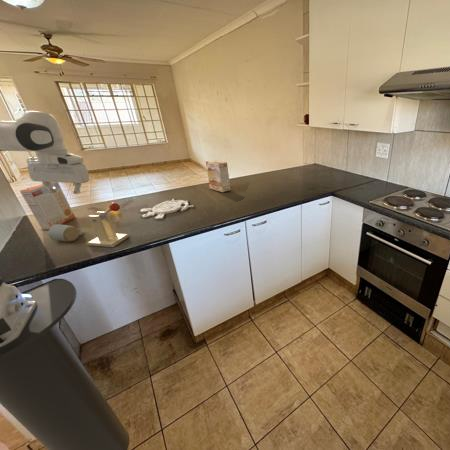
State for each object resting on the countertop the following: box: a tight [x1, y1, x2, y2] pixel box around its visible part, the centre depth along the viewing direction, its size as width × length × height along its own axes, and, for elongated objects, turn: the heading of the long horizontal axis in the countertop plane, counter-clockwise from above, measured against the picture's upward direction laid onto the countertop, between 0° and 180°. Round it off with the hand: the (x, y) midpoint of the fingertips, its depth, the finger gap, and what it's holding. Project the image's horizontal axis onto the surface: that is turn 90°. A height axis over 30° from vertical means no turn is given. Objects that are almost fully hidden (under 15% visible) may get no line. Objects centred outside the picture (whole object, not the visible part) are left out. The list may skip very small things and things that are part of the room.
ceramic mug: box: [47, 224, 84, 243], centre depth 113 cm, size 11×8×8 cm
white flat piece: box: [140, 198, 195, 220], centre depth 145 cm, size 21×28×1 cm
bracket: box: [87, 210, 129, 248], centre depth 110 cm, size 12×9×14 cm
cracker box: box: [19, 182, 76, 230], centre depth 124 cm, size 14×6×21 cm, turn 178°
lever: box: [96, 202, 121, 220], centre depth 105 cm, size 14×4×4 cm, turn 81°
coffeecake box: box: [205, 159, 231, 193], centre depth 170 cm, size 15×7×20 cm, turn 53°
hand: (65, 192), depth 99 cm, fingers open, 8 cm apart
